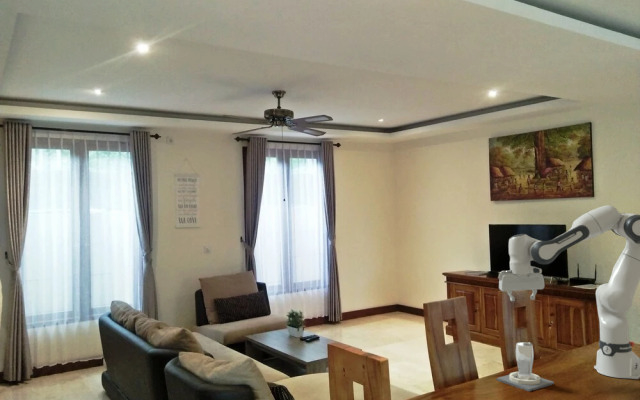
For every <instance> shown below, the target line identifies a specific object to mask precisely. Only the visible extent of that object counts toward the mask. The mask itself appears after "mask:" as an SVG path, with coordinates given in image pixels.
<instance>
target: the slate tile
mask: <svg viewBox="0 0 640 400" xmlns="http://www.w3.org/2000/svg"><path fill="white" fill-rule="evenodd" d="M532 377H533V380H521V379H518V371H513V372H510V373H509V374H507V375H503V376H499V377H496V381H498V382H500V383H504V384H505V385H506V384H507V385H508V386H509V385H510V386H512V387H514V386H515V387H514V388H517V389H521V390H523V389H524V391H525V392H526V391H527V392H532V390H533V391H535V390H539V389H542V388H545V387H546V388H547V387H549V386H553V385H554V384H555V381H553V380H549V379H546V378H543V377H541V376H539V375H538V374H535V373H533V372H532ZM552 384H553V385H552Z"/></svg>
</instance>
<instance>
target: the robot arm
mask: <svg viewBox="0 0 640 400" xmlns="http://www.w3.org/2000/svg"><path fill="white" fill-rule="evenodd" d="M608 231H612V232H613V233H614V234H615V235H617V236H619V237H622V238H625V246H624V248H623V250H622V251H621V254H620V255H619V257H618V258H617V260H616V262H615V264H614V266H613V268H612V272H611V274H610V275H611V276H610V277H609V280H608V282H606V283H603V284H600V285H598V287H597V288H596V290H595V299H596V300H595V301H596V308H597V315H598V321H599V339H598V347H599V349H598V350H597V351H596V364H595V365H593V368H594V369H595V370H596V371H597V372H598V374H601V375H603V376H607V377H611V378H618V379H632V380H639V379H640V357H639V356H638V355H636V353H635V352H634V351H633V348H634V347H635V342H634V341H630V339H629V338H630V335H629V333H630V331H629V321H628V318H627V313H626V312H628V311H629V310H630V309H631V308H632V306H633V300H634V297H635V294H636V293H637V288H638V285H639V283H640V214H638V213H632V212H629V213H626V212H620V211H619V210H618V209H617V208H616V207H615V206H613V205H611V204H610V205H609V204H605V205H603V206H599V207H596V208H593V209H592V210H589V211H587V212H586V213H583V214H582V215H579V217H577V218H576V219H575V220H573V222H572V223H571V227H570V228H569V230H567V231H565V232H564V233H562V234H560V235H558V236H556V237H554V238H553V239H550V240H539V239H536V238H533V237H531V236H529V235H528V234H526V233H520V234H519V233H518V234H514V235H512V236H510V238H509V239H508V255H509V270H501V271H500V272H499V273H498V280H499V281H498V289H499V290H500V291H501V292H506V293H507V295H508V297H509V300H510V302H515V301H516V300H515V299H516V297H515V296H513V292H514V291H515V292H516V291H531V292H532V294H530V295H529V300H531V301H532V300H533V301H534V300H536V295H537V293H538V290H544V288H545V280H544V275H543V274H542V272H543V270H542V268H539V267H536V266H534V265H531V262H532V261H534V262H536V263H537V264H539V265H549V264H551V263H553V262H554V261H555V260H556V258H557V257H558V256H559V255H560V254H561V253H562V252H564V251H566V250H568V249H569V248H571V247H573V246H575V245H577V244H579V243H582V242H585V241H588V240H592V239H593V238H596V237H598V236H601V235H603V234H605V233H606V232H608ZM632 347H633V348H632Z"/></svg>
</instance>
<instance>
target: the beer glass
mask: <svg viewBox="0 0 640 400" xmlns="http://www.w3.org/2000/svg"><path fill="white" fill-rule="evenodd" d="M533 347H534V346H533V343H531V342H524V341H523V342H522V341H521V342H520V341H518V342H516V344H515V359H516V364H517V370H518V371H517V372H518V379H521V380H533V377H532V373H533V365H534V348H533Z"/></svg>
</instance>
